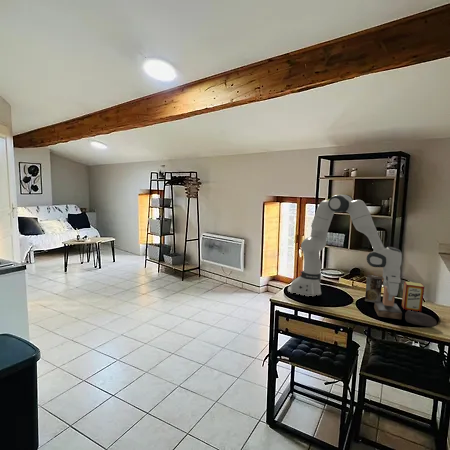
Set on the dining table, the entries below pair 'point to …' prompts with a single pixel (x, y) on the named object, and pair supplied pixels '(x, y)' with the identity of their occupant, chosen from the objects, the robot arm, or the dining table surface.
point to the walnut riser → (387, 310)
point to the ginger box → (413, 296)
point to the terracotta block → (385, 298)
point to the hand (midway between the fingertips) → (388, 298)
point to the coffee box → (373, 288)
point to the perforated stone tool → (419, 319)
